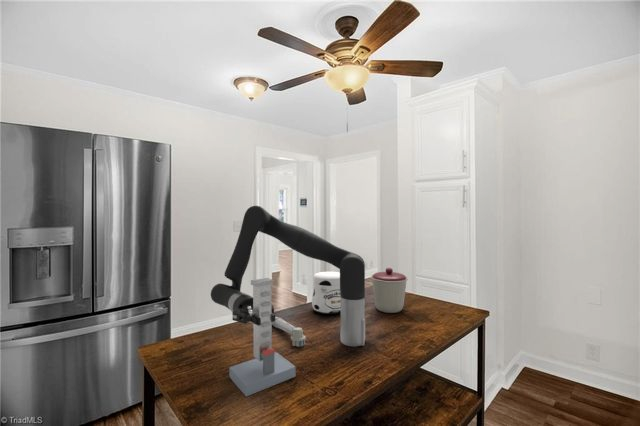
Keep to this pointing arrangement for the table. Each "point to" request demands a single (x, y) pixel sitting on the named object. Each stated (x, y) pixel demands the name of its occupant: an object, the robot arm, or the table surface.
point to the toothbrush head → (290, 331)
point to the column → (262, 316)
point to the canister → (389, 290)
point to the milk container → (326, 293)
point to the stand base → (262, 372)
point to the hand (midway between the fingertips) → (266, 320)
